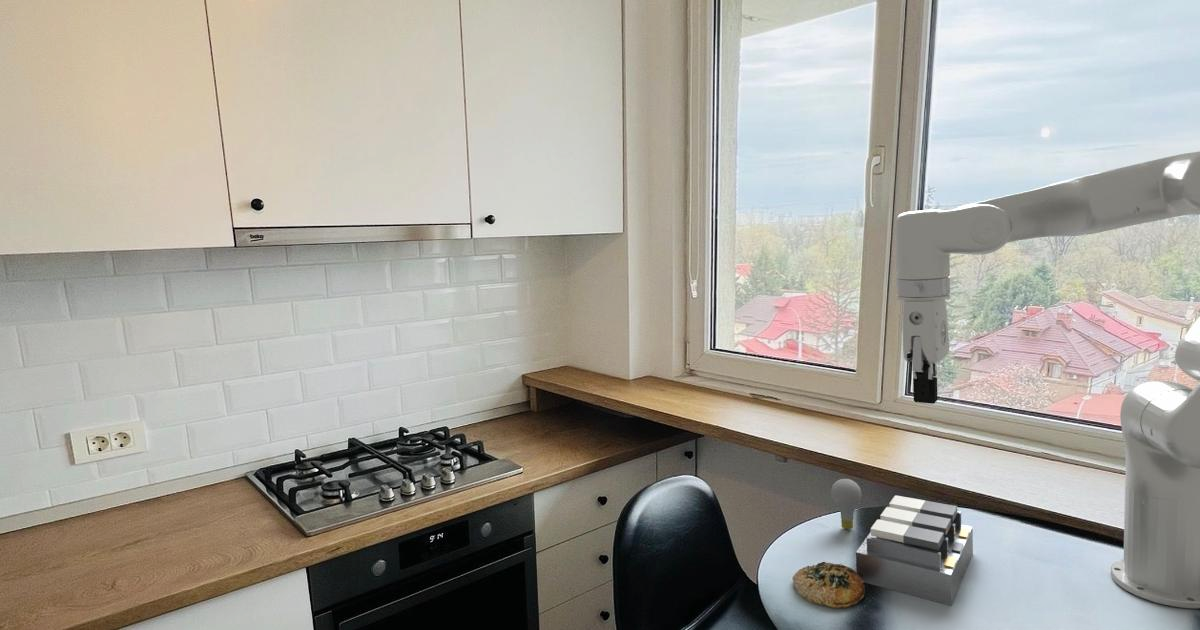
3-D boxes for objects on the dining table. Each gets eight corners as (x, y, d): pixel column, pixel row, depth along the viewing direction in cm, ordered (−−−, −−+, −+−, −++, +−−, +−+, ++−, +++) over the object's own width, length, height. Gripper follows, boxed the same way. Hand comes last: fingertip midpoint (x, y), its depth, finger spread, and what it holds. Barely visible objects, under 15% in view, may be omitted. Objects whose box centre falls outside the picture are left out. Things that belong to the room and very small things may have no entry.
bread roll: (861, 573, 109) (859, 548, 107) (870, 621, 98) (868, 593, 97) (792, 572, 112) (790, 547, 111) (794, 617, 102) (791, 590, 100)
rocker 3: (943, 540, 102) (943, 532, 102) (938, 551, 99) (938, 543, 99) (877, 526, 109) (877, 519, 109) (870, 536, 106) (870, 528, 106)
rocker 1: (957, 513, 111) (957, 506, 111) (952, 522, 108) (952, 515, 108) (895, 502, 117) (895, 495, 117) (889, 510, 114) (889, 503, 114)
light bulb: (865, 536, 121) (863, 485, 120) (834, 535, 122) (832, 485, 121) (859, 523, 126) (858, 474, 125) (830, 522, 127) (828, 474, 126)
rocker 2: (950, 526, 107) (950, 518, 107) (945, 536, 104) (945, 528, 104) (887, 514, 113) (886, 506, 113) (880, 522, 110) (880, 515, 110)
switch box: (972, 554, 112) (972, 512, 111) (951, 605, 98) (950, 558, 97) (887, 535, 121) (886, 496, 120) (856, 580, 107) (855, 537, 106)
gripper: (939, 295, 94) (941, 417, 96) (959, 283, 105) (960, 392, 108) (884, 295, 99) (888, 411, 101) (909, 284, 110) (912, 388, 112)
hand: (925, 401), depth 104 cm, fingers closed
